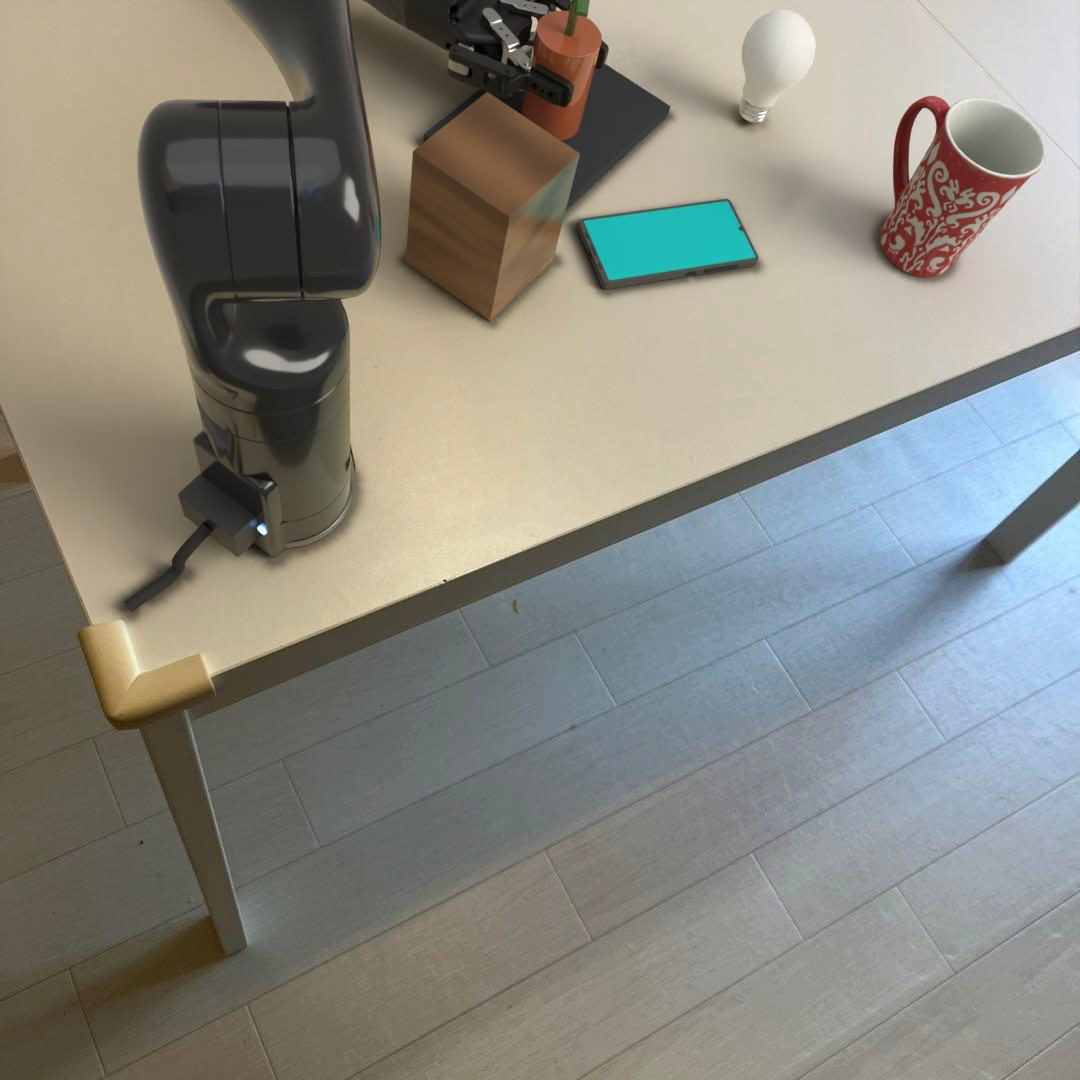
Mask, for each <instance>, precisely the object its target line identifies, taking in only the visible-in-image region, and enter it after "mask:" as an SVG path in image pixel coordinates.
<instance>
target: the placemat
mask: <svg viewBox="0 0 1080 1080" xmlns="http://www.w3.org/2000/svg"><path fill="white" fill-rule="evenodd" d="M532 49H533V47H532V48H530V49H529V50H528V51H526V52H524V53H525V54H526V55H527V56H528V57H529V58H530V59H531V55H532ZM492 79H493V80H496V81H498V82H500V77H498V76H496V75H495V77H494V78H492ZM485 93H486V92H485V91H483V90H480V89H478V91H476V92H475V93H473V94H472V95H471V96H470V97H468V98H467V99H466V100H465V101H463V102H462V103H461V104H460V105H458V106H457V107H456V108H454V109H453V110H452V111H450V113H448V114H447V115H445V116H444V117H443V118H442V119H441V120H439V121H438V122H437V123H436V124H434V125H433V126H432V127H430V128H429V129H428V130H427V131H426V132H424V133H423V137H422V138H423V140H422V143H424V142H425V141H426V140H427V139H429V138H430V137H431V136H432V135H434V134H435V133H436V132H437V131H439V130H440V129H441V128H442V127H444V126H445V125H446V124H447V123H449V122H450V121H451V120H452V119H454V118H455V117H456V116H457V115H459V114H460V113H461V112H462V111H464V110H465V109H466V108H467V107H469V106H470V105H471V104H472V103H474V102H475V101H476V100H477V99H479V98H480V97H481V96H483V95H484V94H485ZM524 93H525V92H521V91H519V90H518V91H516V92H514V93H512V97H511V98H510V99H502V98H500V97H497V96H495V95H493V96H494V97H496V98H497V99H499V100H500V101H502V102H503V103H505V104H506V105H508V106H509V107H511V108H512V109H514V110H515V111H517V112H518V113H520V114H521V109H522V103H523V98H524ZM491 95H492V94H491ZM670 110H671V105H670V104H668V103H667V102H665V101H663V100H662V99H660V98H659V97H657V96H655V95H654V94H652V93H651V92H650V91H648V90H647V89H645V88H643V87H641V86H640V85H639V84H637V83H636V82H634V81H632V80H631V79H629V78H628V77H626V76H625V75H623V74H621V73H620V72H619V71H617V70H615V68H613V67H611V66H610V65H608V64H606V63H605V64H604V65H603V66H602V68H601V69H596V68H595V70H594V74H593V78H592V82H591V86H590V90H589V94H588V98H587V102H586V106H585V109H584V113H583V117H582V121H581V125H580V128H579V130H578V132H577V133H576V134H575V135H574V136H573V137H571V138H569V139H566V140H561V141H562V142H563V143H565V144H566V145H568V146H569V147H571V148H572V149H574V150H575V151H577V152H578V153H580V156H579V160H578V164H577V168H576V172H575V176H574V180H573V184H572V187H571V191H570V195H569V199H568V203H567V207H566V211H565V213H566V212H567V211H568V210H569V209H570V208H572V206H573V205H574V204H575V203H577V202H578V200H580V199H581V198H582V197H583V195H586V193H587V192H589V190H590V189H591V188H592V187H594V186H595V185H596V184H597V183H599V181H600V180H601V179H602V178H603V177H604V176H606V174H607V173H608V172H610V170H612V169H613V168H614V167H615V166H616V165H617V164H618V163H619V162H621V160H622V159H624V158H625V156H627V155H628V154H629V153H630V152H631V151H632V150H633V149H634V148H635V147H636V146H637V145H638V144H640V143H641V142H642V140H643V139H645V137H647V136H648V135H649V134H650V133H651V132H652V131H653V130H654V129H655V128H657V126H658V125H660V123H662V122H663V121H664V120H665V119H666V118H667V117H668V115H669V113H670Z"/></svg>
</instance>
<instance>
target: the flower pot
mask: <svg viewBox="0 0 1080 1080" xmlns="http://www.w3.org/2000/svg"><path fill="white" fill-rule="evenodd" d="M590 2H591V0H571V6H570V10H569V11H562V10H556V11H554V12H550V13H548V14H546V15H544V16H543V17H542V18H541V19H540V20H539V22H538V21H537V24H536V29H535V31H536V33H535V39H534V44H533V47H532V48H533V49H532V48H531V49H532V55H531V60H532V62H533V67H535V66H536V65H537V64H540V65H542V66H544V67H546V68H547V69H549V70H551V71H553V72H554V73H556V74H558V75H560V76H562V77H563V78H565V79H567V80H569V81H571V82H572V83H573V85H574V91H573V95H572V100H571V102H570V103H569V104H568V105H567V106H566V107H561V106H559V105H554V104H551V103H550V102H548V101H547V100H544V99H543V98H541V97H539V96H537V95H535V94H533V93H532V92H530V91H528V90H527V91H525V93H524V98H523V103H522V109H521V115H523V116H524V117H526V118H527V119H529V120H530V121H532V122H533V123H535V124H536V125H538V126H539V127H541V128H542V129H544V130H545V131H547V132H548V133H550V134H551V135H553V136H554V137H556V138H557V139H559V140H560V141H561V140H566V139H569V138H571V137H573V136H574V135H575V134H576V133H577V132H578V130H579V128H580V125H581V121H582V117H583V113H584V109H585V106H586V102H587V98H588V94H589V90H590V86H591V82H592V78H593V74H594V70H595V66H596V62H597V58H598V54H599V50H600V46H601V42H602V40H603V37H602V32H601V29H600V28H599V27H598V25H596V24H595V22H593V20H592V19H590V18H588V16H589V9H590Z"/></svg>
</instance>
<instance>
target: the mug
mask: <svg viewBox="0 0 1080 1080" xmlns="http://www.w3.org/2000/svg"><path fill="white" fill-rule="evenodd" d="M923 109H927V110H929V111H930V112H931V113H932V115H933V116H934V121H935V128H936V129H935V133H934V137H933V140H932V141H931V143H930V145H929V147H928V148H927V150H926V152H925V154H924V155H923V158H922V159H921V161H920V163H918V166H917V167H916V169H915V171H914V173H913V174H912V176H911V177H910V145H911V144H910V143H911V136H912V130H913V127H914V124H915V121H916V119H917V117H918V115H919V113H920V112H922V110H923ZM1041 133H1042V132H1041V131H1040V130H1039V129H1038V127H1037V126H1036V125H1035V124H1034V123H1033V122H1032V121H1031V120H1030V119H1029V117H1027V116H1026V115H1025V114H1023V113H1022V111H1019V110H1018V109H1016V108H1015V107H1013V106H1011V105H1010V104H1007V103H1005V102H1003V101H1001V100H997V99H993V98H989V97H980V96H979V97H977V96H975V97H967V98H963V99H961V100H958V101H957V102H955V103H953V104H952V105H951V106H950V105H949V104H948V102H947V101H946V100H945V99H943V98H941V97H940V96H936V95H928V96H923V97H921V98H919V99H918V100H916V101H914V102H913V103H911V104H910V105H909V107H908V108H907V109H906V110H905V112H904V114H903V115H902V117H901V119H900V121H899V122H898V125H897V129H896V132H895V137H894V144H893V156H892V185H893V187H892V188H893V197H894V207H893V208H892V210H891V212H890V214H889V215H888V216H887V218H886V219H885V221H884V223H883V225H882V227H881V229H880V233H879V242H880V246H881V249H882V251H883V253H884V254H885V256H886V258H887V259H888V260H889V261H890V262H891V263H892V264H893V265H894V266H895V267H897V268H898V269H900V270H901V271H903V272H905V273H907V274H909V275H913V276H915V277H916V276H917V277H920V278H921V277H922V278H932V277H937V276H940V275H943V274H944V273H946V272H947V271H948V270H949V269H950V267H952V265H953V264H954V263H955V262H956V261H958V259H959V258H960V256H961V255H962V254H963V253H964V252H965V250H967V248H968V247H970V245H971V244H972V243H973V242H974V241H975V240H976V238H977V237H979V235H980V234H981V233H982V232H983V231H984V230H985V228H986V227H987V226H988V225H989V224H990V223H991V221H993V219H994V218H995V217H996V216H997V215H998V214H999V213H1000V211H1001V210H1002V209H1003V208H1004V207H1005V206H1006V205H1007V204H1008V202H1009V201H1010V200H1011V199H1012V198H1013V197H1014V196H1015V195H1016V194H1017V192H1018V191H1019V190H1020V189H1021V188H1022V187H1023V185H1025V183H1026V182H1027V181H1028V180H1029V179H1030V178H1031V177H1032V176H1034V175H1035V174H1037V173H1038V172H1039V171H1040V170H1041V169H1042V168H1043V166H1044V164H1045V163H1046V159H1047V145H1046V142H1045V139H1044V137H1043V135H1042V134H1041Z"/></svg>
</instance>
